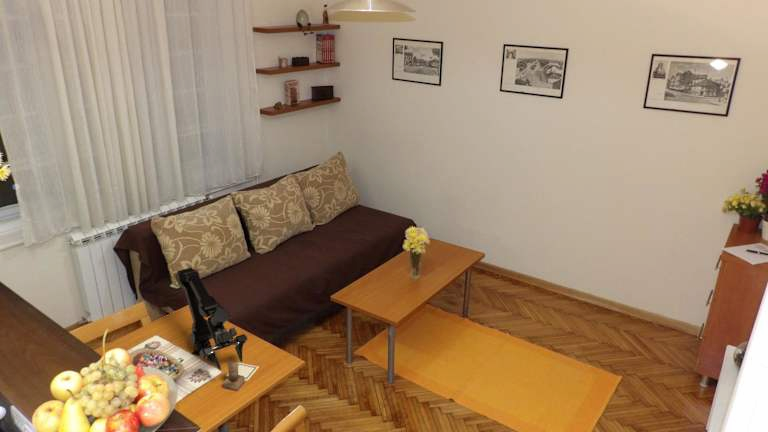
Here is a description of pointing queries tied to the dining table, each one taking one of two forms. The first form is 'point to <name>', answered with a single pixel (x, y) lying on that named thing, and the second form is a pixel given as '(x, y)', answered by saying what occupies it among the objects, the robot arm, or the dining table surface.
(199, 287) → the robot arm
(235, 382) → the stamp
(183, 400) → the dining table surface
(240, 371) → the marked board
